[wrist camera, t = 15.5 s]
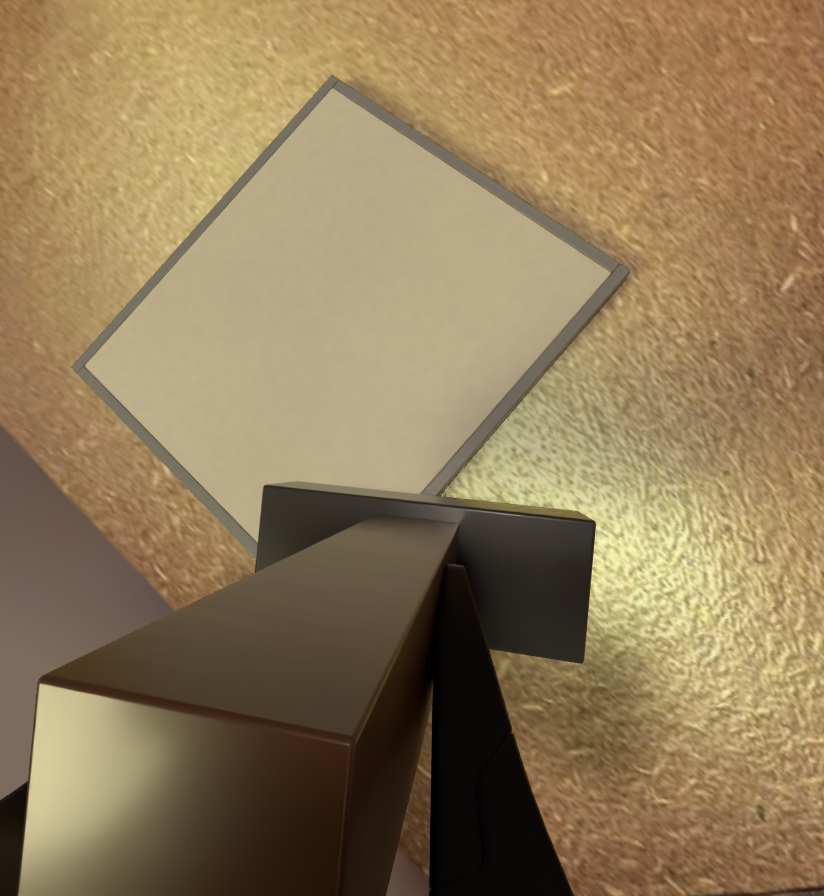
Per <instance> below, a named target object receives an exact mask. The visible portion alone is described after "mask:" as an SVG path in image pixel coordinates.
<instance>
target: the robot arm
mask: <svg viewBox="0 0 824 896" xmlns="http://www.w3.org/2000/svg"><path fill="white" fill-rule="evenodd" d="M27 786H28V781H27V782H26V783H24V784H23V785H22V786H20V787H19V788H17V789H16V790H15V791H13V792H12V793H10V794H9V795H7V796H6V797H4V798H3V799H1V800H0V896H17V888H18V878H19V867H20V857H21V847H22V837H23V827H24V817H25V806H26V796H27ZM429 896H574V895H573V892H572V890H571V887H570V885H569V883H568V880H567V878H566V875H565V873H564V870H563V868H562V866H561V863H560V861H559V858H558V856H557V854H556V851H555V849H554V846H553V844H552V841H551V839H550V837H549V834H548V832H547V829H546V827H545V824H544V822H543V819H542V816H541V814H540V811H539V808H538V806H537V803H536V800H535V798H534V795H533V793H532V790H531V787H530V784H529V781H528V777H527V774H526V771H525V768H524V765H523V762H522V759H521V756H520V752H519V749H518V746H517V742H516V739H515V736H514V734H513V733H512V726H511V723H510V719H509V716H508V712H507V709H506V706H505V702H504V699H503V695H502V692H501V689H500V685H499V682H498V678H497V675H496V672H495V668H494V665H493V661H492V658H491V655H490V651H489V648H488V644H487V641H486V638H485V634H484V631H483V627H482V624H481V620H480V617H479V614H478V610H477V607H476V603H475V600H474V597H473V593H472V590H471V586H470V583H469V580H468V576H467V573H466V570H465V568H464V566H462V565H454V564H446V565H445V567H444V572H443V577H442V582H441V587H440V592H439V597H438V602H437V607H436V613H435V618H434V648H433V703H432V759H431V814H430V870H429Z"/></svg>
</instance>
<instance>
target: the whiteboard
mask: <svg viewBox="0 0 824 896" xmlns="http://www.w3.org/2000/svg"><path fill="white" fill-rule="evenodd" d="M619 264H620V263H619V262H617V261H616V260H614V259H613V258H611V257H610V256H608V255H607V254H605V253H604V252H602V251H601V250H599V249H598V248H596V247H594V246H593V245H591V244H590V243H588V242H587V241H585V240H584V239H582V238H581V237H579V236H578V235H576V234H575V233H573V232H572V231H570V230H569V229H567V228H565V227H564V226H562V225H561V224H559V223H558V222H556V221H555V220H553V219H552V218H550V217H549V216H547V215H546V214H544V213H543V212H541V211H539V210H538V209H536V208H535V207H533V206H532V205H530V204H529V203H527V202H526V201H524V200H523V199H521V198H520V197H518V196H517V195H515V194H513V193H512V192H510V191H509V190H507V189H506V188H504V187H503V186H501V185H500V184H498V183H497V182H495V181H494V180H492V179H491V178H489V177H488V176H486V175H484V174H483V173H481V172H480V171H478V170H477V169H475V168H474V167H472V166H471V165H469V164H468V163H466V162H465V161H463V160H462V159H460V158H458V157H457V156H455V155H454V154H452V153H451V152H449V151H448V150H446V149H445V148H443V147H442V146H440V145H439V144H437V143H436V142H434V141H432V140H431V139H429V138H428V137H426V136H425V135H423V134H422V133H420V132H419V131H417V130H416V129H414V128H413V127H411V126H410V125H408V124H407V123H405V122H403V121H402V120H400V119H399V118H397V117H396V116H394V115H393V114H391V113H390V112H388V111H387V110H385V109H384V108H382V107H381V106H379V105H377V104H376V103H374V102H373V101H371V100H370V99H368V98H367V97H365V96H364V95H362V94H361V93H359V92H358V91H356V90H355V89H353V88H351V87H350V86H348V85H347V84H345V83H344V82H342V81H341V80H339V79H338V78H336V77H335V76H333V75H331V76H330V78H329V79H328V80H327V81H326V82H325V83H324V84H323V85H322V87H321V88H320V89H319V90H318V91H317V92H316V93H315V94H314V95H313V97H312V98H311V99H310V100H309V101H308V102H307V103H306V104H305V106H304V107H303V108H302V109H301V110H300V111H299V112H298V113H297V115H296V116H295V117H294V118H293V119H292V120H291V121H290V122H289V124H288V125H287V126H286V127H285V128H284V129H283V130H282V131H281V132H280V134H279V135H278V136H277V137H276V138H275V139H274V140H273V141H272V143H271V144H270V145H269V146H268V147H267V148H266V149H265V150H264V152H263V153H262V154H261V155H260V156H259V157H258V158H257V159H256V160H255V162H254V163H253V164H252V165H251V166H250V167H249V168H248V169H247V171H246V172H245V173H244V174H243V175H242V176H241V177H240V178H239V180H238V181H237V182H236V183H235V184H234V185H233V186H232V187H231V189H230V190H229V191H228V192H227V193H226V194H225V195H224V196H223V197H222V199H221V200H220V201H219V202H218V203H217V204H216V205H215V206H214V208H213V209H212V210H211V211H210V212H209V213H208V214H207V215H206V217H205V218H204V219H203V220H202V221H201V222H200V223H199V224H198V226H197V227H196V228H195V229H194V230H193V231H192V232H191V233H190V234H189V236H188V237H187V238H186V239H185V240H184V241H183V242H182V243H181V245H180V246H179V247H178V248H177V249H176V250H175V251H174V252H173V254H172V255H171V256H170V257H169V258H168V259H167V260H166V261H165V262H164V264H163V265H162V266H161V267H160V268H159V269H158V270H157V271H156V273H155V274H154V275H153V276H152V277H151V278H150V279H149V280H148V282H147V283H146V284H145V285H144V286H143V287H142V288H141V289H140V291H139V292H138V293H137V294H136V295H135V296H134V297H133V298H132V299H131V301H130V302H129V303H128V304H127V305H126V306H125V307H124V308H123V310H122V311H121V312H120V313H119V314H118V315H117V316H116V317H115V319H114V320H113V321H112V322H111V323H110V324H109V325H108V326H107V327H106V329H105V330H104V331H103V332H102V333H101V334H100V335H99V336H98V338H97V339H96V340H95V341H94V342H93V343H92V344H91V345H90V347H89V348H88V349H87V350H86V351H85V352H84V353H83V354H82V356H81V357H80V358H79V359H78V360H77V361H76V362H75V363H74V364H73V366H72V367H71V368H72V369H73V370H74V371H75V372H76V373H77V374H78V375H79V376H80V377H81V378H82V379H83V380H84V381H85V382H86V383H87V385H88V386H89V387H90V388H91V389H92V390H93V391H94V392H95V393H96V394H97V395H98V396H99V397H100V398H101V399H102V400H103V401H104V402H105V403H106V404H107V405H108V406H109V407H110V408H111V409H112V410H113V411H114V412H115V414H116V415H117V416H118V417H119V418H120V419H121V420H122V421H123V422H124V423H125V424H126V425H127V426H128V427H129V428H130V429H131V430H132V431H133V432H134V433H135V434H136V435H137V436H138V437H139V438H140V439H141V440H142V441H143V443H144V444H145V445H146V446H147V447H148V448H149V449H150V450H151V451H152V452H153V453H154V454H155V455H156V456H157V457H158V458H159V459H160V460H161V461H162V462H163V463H164V464H165V465H166V466H167V467H168V468H169V469H170V470H171V472H172V473H173V474H174V475H175V476H176V477H177V478H178V479H179V480H180V481H181V482H182V483H183V484H184V485H185V486H186V487H187V488H188V489H189V490H190V491H191V492H192V493H193V494H194V495H195V496H196V497H197V498H198V499H199V501H200V502H201V503H202V504H203V505H204V506H205V507H206V508H207V509H208V510H209V511H210V512H211V513H212V514H213V515H214V516H215V517H216V518H217V519H218V520H219V521H220V522H221V523H222V524H223V525H224V526H225V527H226V528H227V530H228V531H229V532H230V533H231V534H232V535H233V536H234V537H235V538H236V539H237V540H238V541H239V542H240V543H241V544H242V545H243V546H244V547H245V548H246V549H247V550H248V551H249V552H250V553H251V554H252V555H253V556H254V558H255V559H256V556H257V545H258V535H259V524H260V514H261V503H262V492H263V486H264V485H267V484H276V483H285V482H294V481H300V482H309V483H319V484H328V485H338V486H347V487H356V488H366V489H375V490H385V491H394V492H403V493H413V494H422V495H432V496H439V495H440V494H441V493H442V492H443V491H444V489H445V488H446V487H447V486H448V485H449V484H450V483H451V481H452V480H453V479H454V478H455V477H456V476H457V474H458V473H459V472H460V471H461V470H462V469H463V467H464V466H465V465H466V464H467V463H468V462H469V461H470V459H471V458H472V457H473V456H474V455H475V454H476V452H477V451H478V450H479V449H480V448H481V447H482V445H483V444H484V443H485V442H486V441H487V440H488V439H489V437H490V436H491V435H492V434H493V433H494V432H495V430H496V429H497V428H498V427H499V426H500V425H501V424H502V422H503V421H504V420H505V419H506V418H507V417H508V415H509V414H510V413H511V412H512V411H513V410H514V408H515V407H516V406H517V405H518V404H519V403H520V402H521V400H522V399H523V398H524V397H525V396H526V395H527V393H528V392H529V391H530V390H531V389H532V388H533V386H534V385H535V384H536V383H537V382H538V381H539V380H540V378H541V377H542V376H543V375H544V374H545V373H546V371H547V370H548V369H549V368H550V367H551V366H552V365H553V363H554V362H555V361H556V360H557V359H558V358H559V356H560V355H561V354H562V353H563V352H564V351H565V349H566V348H567V347H568V346H569V345H570V344H571V343H572V341H573V340H574V339H575V338H576V337H577V336H578V334H579V333H580V332H581V331H582V330H583V329H584V328H585V326H586V325H587V324H588V323H589V322H590V321H591V319H592V318H593V317H594V316H595V315H596V314H597V312H598V311H599V310H600V309H601V308H602V307H603V306H604V304H605V303H606V302H607V301H608V300H609V299H610V297H611V296H612V295H613V294H614V293H615V292H616V290H617V289H618V288H619V287H620V286H621V285H622V284H623V282H624V281H625V280H626V278H627V276H628V274H629V273H630V269H628V268H627V267H625V266H624V265H622V264H620V265H619Z"/></svg>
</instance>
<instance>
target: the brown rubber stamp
mask: <svg viewBox="0 0 824 896" xmlns="http://www.w3.org/2000/svg"><path fill="white" fill-rule="evenodd" d="M595 530H596V523H595V521H594V520H592V519H590V518H589V517H587V516H585V515H583V514H582V513H580V512H578V511H573V510H563V509H554V508H544V507H535V506H526V505H516V504H507V503H497V502H488V501H479V500H469V499H460V498H450V497H441V496H432V495H422V494H413V493H403V492H394V491H385V490H375V489H366V488H356V487H347V486H338V485H328V484H319V483H309V482H300V481H294V482H285V483H276V484H267V485H264V486H263V492H262V503H261V514H260V524H259V535H258V545H257V556H256V567H255V573H254V574H252V575H250V576H248V577H246V578H244V579H242V580H240V581H237V582H235V583H233V584H231V585H229V586H227V587H225V588H223V589H221V590H219V591H217V592H215V593H213V594H210V595H208V596H206V597H204V598H202V599H200V600H198V601H196V602H194V603H192V604H190V605H188V606H186V607H183V608H181V609H179V610H177V611H175V612H173V613H171V614H169V615H167V616H165V617H163V618H161V619H159V620H157V621H155V622H152V623H150V624H148V625H146V626H144V627H142V628H140V629H138V630H136V631H134V632H132V633H130V634H128V635H126V636H123V637H121V638H119V639H117V640H115V641H113V642H111V643H109V644H107V645H105V646H103V647H100V648H99V649H97V650H94V651H92V652H90V653H88V654H86V655H84V656H82V657H80V658H78V659H76V660H74V661H71V662H69V663H67V664H65V665H63V666H61V667H59V668H57V669H55V670H53V671H51V672H49V673H47V674H45V675H43V676H42V677H41V678H40V679H39V681H38V684H37V694H36V704H35V716H34V726H33V735H32V745H31V755H30V766H29V776H28V786H27V796H26V806H25V817H24V827H23V837H22V847H21V857H20V867H19V878H18V888H17V896H386V892H387V888H388V884H389V880H390V876H391V871H392V867H393V863H394V859H395V855H396V851H397V847H398V842H399V838H400V834H401V830H402V826H403V822H404V818H405V813H406V809H407V805H408V801H409V797H410V793H411V788H412V784H413V780H414V776H415V772H416V768H417V763H418V759H419V755H420V751H421V747H422V743H423V738H424V734H425V730H426V726H427V722H428V718H429V714H430V709H431V705H432V701H433V648H434V618H435V613H436V607H437V602H438V597H439V592H440V587H441V582H442V577H443V572H444V567H445V565H446V564H454V565H462V566H464V568H465V570H466V573H467V576H468V580H469V583H470V586H471V590H472V593H473V597H474V600H475V603H476V607H477V610H478V614H479V617H480V620H481V624H482V627H483V631H484V634H485V638H486V641H487V644H488V648H489V649H492V650H499V651H505V652H511V653H517V654H524V655H530V656H536V657H542V658H549V659H555V660H561V661H567V662H574V663H580V664H581V663H583V662H584V656H585V645H586V633H587V622H588V610H589V599H590V587H591V576H592V564H593V553H594V541H595Z"/></svg>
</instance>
